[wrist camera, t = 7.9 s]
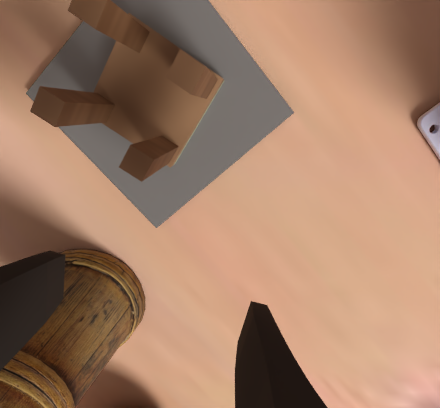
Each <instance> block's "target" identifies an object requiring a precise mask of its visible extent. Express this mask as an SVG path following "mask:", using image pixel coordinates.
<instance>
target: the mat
mask: <svg viewBox="0 0 440 408" xmlns="http://www.w3.org/2000/svg"><path fill="white" fill-rule="evenodd" d="M111 1H112V2H113V3H115V4H116V5H117V6H118V7H120V8H121V9H122V10H123V11H125V12H126V13H127V14H128V13H130V14H132V15H133V16H134V17H136V18H137V19H139V20H140V21H142V22H143V23H144V24H146V25H147V26H149V27H150V28H152V29H153V30H154V31H156V32H157V33H159V34H160V35H162V36H163V37H164V38H166V39H167V40H169V41H170V42H172V43H173V44H174V45H176V46H177V47H179V48H180V49H182V50H183V51H184V52H186V53H187V54H189V55H190V56H192V57H193V58H194V59H196V60H197V61H199V62H200V63H202V64H203V65H204V66H206V67H207V68H209V69H210V70H212V71H213V72H214V73H216V74H217V75H219V76H220V77H222V78H223V79H224V80H225V81H224V83H223V84H222V86H221V88H220V89H219V91H218V93H217V94H216V96H215V98H214V99H213V101H212V103H211V104H210V106H209V108H208V109H207V111H206V113H205V115H204V116H203V118H202V120H201V121H200V123H199V125H198V126H197V128H196V130H195V131H194V133H193V135H192V136H191V138H190V140H189V141H188V143H187V145H186V146H185V148H184V150H183V151H182V153H181V155H180V157H179V158H178V160H177V162H176V163H175V164H174V165H173V166H172V167H169V166H167V165H166V166H164V167H163V168H161V169H160V170H158V171H157V172H155V173H154V174H152V175H151V176H149V177H148V178H146V179H145V180H144V181H142V182H141V181H139V180H138V179H136V178H135V177H133V176H132V175H130V174H128V173H127V172H125V171H124V170H122V169H121V168H119V165H120V164H121V162H122V160H123V158H124V156H125V154H126V152H127V150H128V148H129V146H130V145H131V144H133V143H131V142H130V141H128V140H127V139H125V138H124V137H122V136H121V135H119V134H118V133H116V132H114V131H113V130H111V129H110V128H108V127H107V126H105V125H104V124H102V123H96V124H84V125H72V126H60V127H59V128H60V129H61V130H62V131H63V132H64V133H65V134H66V135H67V136H68V137H69V138H70V139H71V141H72V142H73V143H74V144H75V145H76V146H77V147H78V148H79V149H80V150H81V151H82V152H83V153H84V154H85V155H86V156H87V157H88V158H89V159H90V160H91V161H92V162H93V163H94V164H95V165H96V166H97V167H98V168H99V169H100V170H101V171H102V173H103V174H104V175H105V176H106V177H107V178H108V179H109V180H110V181H111V182H112V183H113V184H114V185H115V186H116V187H117V188H118V189H119V190H120V191H121V192H122V193H123V194H124V195H125V196H126V197H127V198H128V199H129V200H130V201H131V202H132V203H133V204H134V206H135V207H136V208H137V209H138V210H139V211H140V212H141V213H142V214H143V215H144V216H145V217H146V218H147V219H148V220H149V221H150V222H151V223H152V224H153V225H154V226H155V227H156V228H157V227H158V226H160V225H161V224H162V223H163V222H164V221H166V220H167V219H168V218H169V217H170V216H172V215H173V214H174V213H175V212H176V211H178V210H179V209H180V208H181V207H182V206H183V205H185V204H186V203H187V202H188V201H189V200H191V199H192V198H193V197H194V196H195V195H197V194H198V193H199V192H200V191H201V190H203V189H204V188H205V187H206V186H207V185H208V184H210V183H211V182H212V181H213V180H214V179H216V178H217V177H218V176H219V175H220V174H222V173H223V172H224V171H225V170H226V169H228V168H229V167H230V166H231V165H232V164H233V163H235V162H236V161H237V160H238V159H239V158H241V157H242V156H243V155H244V154H245V153H247V152H248V151H249V150H250V149H251V148H253V147H254V146H255V145H256V144H257V143H258V142H260V141H261V140H262V139H263V138H264V137H266V136H267V135H268V134H269V133H270V132H272V131H273V130H274V129H275V128H276V127H278V126H279V125H280V124H281V123H282V122H283V121H285V120H286V119H287V118H288V117H289V116H291V115H292V114H293V113H294V112H293V111H292V109H291V108H290V107H289V105H288V104H287V103H286V101H285V100H284V99H283V97H282V96H281V95H280V94H279V92H278V91H277V90H276V88H275V87H274V86H273V84H272V83H271V82H270V80H269V79H268V78H267V77H266V75H265V74H264V73H263V71H262V70H261V69H260V67H259V66H258V65H257V63H256V62H255V61H254V60H253V58H252V57H251V56H250V54H249V53H248V52H247V50H246V49H245V48H244V46H243V45H242V44H241V43H240V41H239V40H238V39H237V37H236V36H235V35H234V33H233V32H232V31H231V29H230V28H229V27H228V26H227V24H226V23H225V22H224V20H223V19H222V18H221V16H220V15H219V14H218V12H217V11H216V10H215V8H214V7H213V6H212V5H211V3H210V2H209V1H208V0H111ZM115 43H116V40H114V39H113V38H111V37H109V36H107V35H105V34H103V33H101V32H100V31H98V30H96V29H94V28H93V27H91V26H90V25H88V24H87V23H85V22H84V21H83V22H82V23H81V24H80V26H79V27H78V28H77V29H76V31H75V32H74V33H73V35H72V36H71V37H70V38H69V40H68V41H67V42H66V43H65V45H64V46H63V47H62V48H61V50H60V51H59V52H58V53H57V55H56V56H55V57H54V58H53V60H52V61H51V62H50V64H49V65H48V66H47V67H46V69H45V70H44V71H43V72H42V74H41V75H40V76H39V77H38V79H37V80H36V81H35V82H34V84H33V85H32V86H31V87H30V89H29V90H28V91H27V92H26V94H27V95H28V96H29V97H30V98H31V99H32V100H33V101H34V100H35V97H36V95H37V92H38V89H39V87H40V86H43V87H51V88H60V89H68V90H76V91H85V92H94V90H95V88H96V85H97V83H98V81H99V79H100V76H101V74H102V72H103V70H104V67H105V65H106V63H107V61H108V58H109V56H110V54H111V52H112V49H113V47H114V45H115Z"/></svg>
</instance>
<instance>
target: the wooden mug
mask: <svg viewBox="0 0 440 408" xmlns="http://www.w3.org/2000/svg"><path fill="white" fill-rule="evenodd" d="M61 254H65V276H64V296H63V300H62V301H61V303H60V304H59V306H58V307H57V308H56V310H55V311H54V313H53V314H52V315H51V316H50V318H49V319H48V320H47V322H46V323H45V324H44V325H43V326H42V327H41V328H40V330H39V331H38V332H37V333H36V334H35V335H34V336H33V337H32V338H31V339H30V340H29V341H28V342H27V343H26V344H25V346H24V347H23V348H22V349H21V350H20V351H19V352H18V353H17V354H16V355H15V356H14V357H13V358H12V359H11V360H10V361H9V362H8V363H7V364H6V366H5V367H4V368H3V369H2V370H1V371H0V408H75V407H76V406H77V404H78V403H79V401H80V400H81V399H82V397H83V396H84V394H85V393H86V392H87V390H88V389H89V388H90V386H91V385H92V383H93V382H94V381H95V379H96V378H97V376H98V375H99V374H100V372H101V371H102V370H103V368H104V367H105V365H106V364H107V363H108V361H109V360H110V359H111V357H112V356H113V354H114V353H115V352H116V350H117V349H118V348H119V347H120V346H121V345H123V344H124V343H125V342H126V341H127V340H128V339H129V338H130V336H131V335H132V333H133V332H134V330H135V329H136V328H137V326H138V325H139V323H140V322H141V321H142V318H143V315H144V311H145V296H144V292H143V289H142V286H141V284H140V282H139V281H138V279H137V278H136V276H135V275H134V273H133V272H132V271H131V270H130V269H129V268H128V267H127V266H126V265H125V264H124V263H123V262H122V261H120V260H118V259H116V258H114V257H113V256H111V255H108V254H105V253H102V252H98V251H95V250H85V249H78V250H66V251H64V252H61Z"/></svg>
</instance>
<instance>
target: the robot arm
mask: <svg viewBox="0 0 440 408" xmlns="http://www.w3.org/2000/svg"><path fill="white" fill-rule="evenodd" d="M432 125H434V126H435V129H434V131H433V132H432V133H430V131H429V129H430V127H431V126H432ZM417 126H418V128H419V130H420V131H421V133H422V134H423V136H424V137H425V139H426V140H427V142H428V143H429V145H430V146H431V148H432V149H433V151H434V152H435V154H436V155H437V157H438V158H439V160H440V102H439V103H438V104H437V105H435V106H434V107H433V108H431V109H430V110H428V111H427V112H426V113H424V114H423V115H422V116H421V117H420V118H419V119H418V121H417ZM64 276H65V254H61V253H57V252H53V251H48V252H44V253H41V254H37V255H34V256H31V257H28V258H25V259H22V260H19V261H16V262H13V263H10V264H8V265H5V266H2V267H0V371H1V370H2V369H3V368H4V367H5V366H6V364H7V363H8V362H9V361H10V360H11V359H12V358H13V357H14V356H15V355H16V354H17V353H18V352H19V351H20V350H21V349H22V348H23V347H24V346H25V344H26V343H27V342H28V341H29V340H30V339H31V338H32V337H33V336H34V335H35V334H36V333H37V332H38V331H39V330H40V328H41V327H42V326H43V325H44V324H45V323H46V322H47V320H48V319H49V318H50V316H51V315H52V314H53V313H54V311H55V310H56V308H57V307H58V306H59V304H60V303H61V301H62V300H63V296H64ZM235 408H327V406H326V405H325V404H324V402H323V401H322V399H321V398H320V397H319V395H318V394H317V393H316V391H315V390H314V388H313V387H312V385H311V384H310V382H309V381H308V379H307V378H306V376H305V374H304V373H303V371H302V370H301V368H300V366H299V365H298V363H297V361H296V360H295V358H294V356H293V354H292V353H291V351H290V349H289V347H288V345H287V344H286V342H285V340H284V338H283V336H282V334H281V332H280V330H279V328H278V326H277V324H276V322H275V320H274V318H273V316H272V314H271V312H270V310H269V308H268V306H267V305H264V304H260V303H256V302H252V301H251V303H250V306H249V309H248V312H247V315H246V318H245V322H244V325H243V328H242V331H241V334H240V337H239V340H238V345H237V354H236V365H235Z"/></svg>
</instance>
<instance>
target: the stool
mask: <svg viewBox="0 0 440 408" xmlns="http://www.w3.org/2000/svg"><path fill="white" fill-rule="evenodd" d="M68 11H69V12H71V13H72V14H74V15H75V16H77V17H78V18H80V19H81V20H83V21H84V22H85V23H87V24H88V25H90V26H91V27H93V28H94V29H96V30H98V31H100V32H101V33H103V34H105V35H107V36H109V37H111V38H113V39H114V40H116V43H115V45H114V47H113V49H112V52H111V54H110V56H109V58H108V61H107V63H106V65H105V67H104V70H103V72H102V74H101V76H100V79H99V81H98V83H97V85H96V88H95V90H94V92H85V91H76V90H68V89H60V88H51V87H43V86H40V87H39V89H38V92H37V95H36V97H35V100H34V103H33V105H32V108H31V112H32V113H34V114H35V115H37V116H38V117H40V118H42V119H43V120H45V121H46V122H48V123H49V124H51V125H53V126H54V127H60V126H72V125H84V124H96V123H102V124H104V125H105V126H107V127H108V128H110V129H111V130H113V131H114V132H116V133H118V134H119V135H121V136H122V137H124V138H125V139H127V140H128V141H130V142H131V143H133V144H131V145H130V146H129V148H128V150H127V152H126V154H125V156H124V158H123V160H122V162H121V164H120V165H119V168H121V169H122V170H124V171H125V172H127V173H128V174H130V175H132V176H133V177H135V178H136V179H138V180H139V181H141V182H142V181H144V180H145V179H146V178H148V177H149V176H151V175H152V174H154V173H155V172H157V171H158V170H160V169H161V168H163V167H164V166H166V165H167V166H169V167H172V166H173V165H174V164H175V163H176V162H177V160H178V158H179V157H180V155H181V153H182V151H183V150H184V148H185V146H186V145H187V143H188V141H189V140H190V138H191V136H192V135H193V133H194V131H195V130H196V128H197V126H198V125H199V123H200V121H201V120H202V118H203V116H204V115H205V113H206V111H207V109H208V108H209V106H210V104H211V103H212V101H213V99H214V98H215V96H216V94H217V93H218V91H219V89H220V88H221V86H222V84H223V83H224V81H225V80H224V79H223V78H222V77H220V76H219V75H217V74H216V73H214V72H213V71H212V70H210V69H209V68H207V67H206V66H204V65H203V64H202V63H200V62H199V61H197V60H196V59H194V58H193V57H192V56H190V55H189V54H187V53H186V52H184V51H183V50H182V49H180V48H179V47H177V46H176V45H174V44H173V43H172V42H170V41H169V40H167V39H166V38H164V37H163V36H162V35H160V34H159V33H157V32H156V31H154V30H153V29H152V28H150V27H149V26H147V25H146V24H144V23H143V22H142V21H140V20H139V19H137V18H136V17H134V16H133V15H132V14H130V13H128V14H127V13H126V12H125V11H123V10H122V9H121V8H120V7H118V6H117V5H116V4H115V3H113V2H112V1H111V0H72V1H71V4H70V7H69V9H68Z"/></svg>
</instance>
